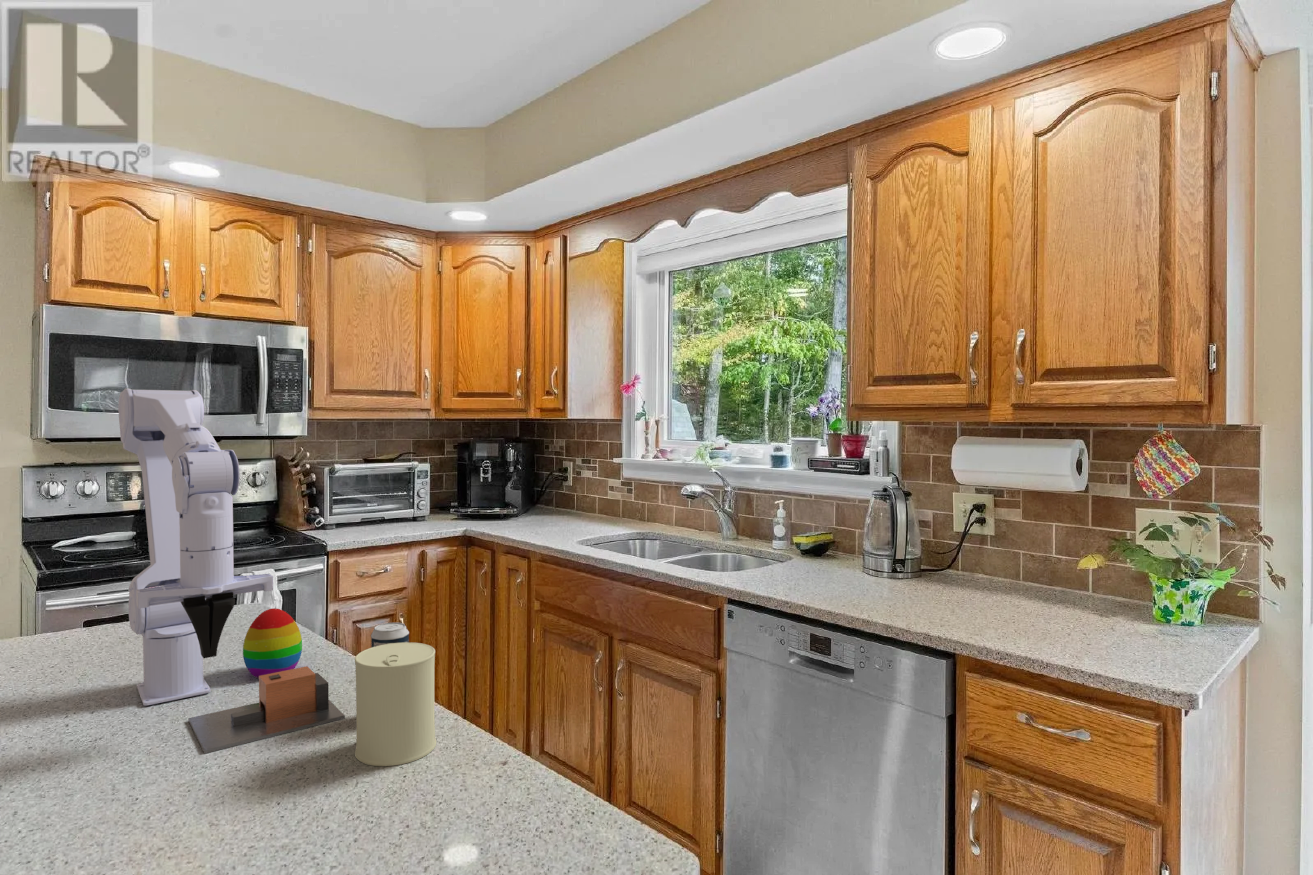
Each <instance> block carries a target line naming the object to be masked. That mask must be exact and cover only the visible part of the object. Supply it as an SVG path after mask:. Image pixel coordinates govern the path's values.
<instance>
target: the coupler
mask: <svg viewBox="0 0 1313 875" xmlns="http://www.w3.org/2000/svg"><path fill="white" fill-rule="evenodd" d="M314 673H315V674H316V711H314V712H310V713H305V714H301V715H297V716H293V717H289V718H285V719H280V720H276V721H272V722H268V723H266V722H265V706H263V707H259V702H254V703H250V704H247V705H246V704H245V705H241V706H237V707H233V708H228V709H224V710H220V711H219V710H218V711H215V712H211V713H207V714H201V715H196V716H192V717H189V718H187V719H188V723H189V725H190V727H191V730H192V731H193V733H194V735H195V738H196V739H197V742H198V744H199V746H200V747H201V750H202V752H203V754H210V753H213V752H216V751H221V750H225V749H228V748H233V747H236V746H240V745H244V744H247V743H248V744H249V743H251V742H257V741H260V740H264V739H268V738H273V737H275V736H280V735H284V734H288V733H292V732H295V731H299V730H304V729H308V728H312V727H316V726H319V725H324V724H328V723H331V722H336V721H340V720H344V719H345V716H346V715H345V714H344V713H343V712H342V711H341V710H340V709H339V708H338V707H337V706H336V705H335V704H333V702H332V701H331V700H330V698H329V697H330V696H329V682H328V680H326V679H325V678H324V677H323V676H322V675H321V674H320V673H319V672H314Z"/></svg>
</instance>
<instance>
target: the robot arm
mask: <svg viewBox="0 0 1313 875" xmlns="http://www.w3.org/2000/svg"><path fill="white" fill-rule="evenodd" d="M117 409H118V421H119V423H118V424H119V434H120V441H121V443H122V448H123V450H124V451H127V452H129V453H132V454H134V455H136V457H137V460H138V462H139V466H140V469H141V475H142V487H143V497H144V499H143V500H144V508H145V519H146V520H145V521H146V530H147V538H148V549H149V550H148V551H149V560H150V561H149V562H150V565H148V566H147V567H146V568H144V569H143V570H142V571H141V572H140V573H138V574H136V575H135V576H134V577H133V579H132V580H131V581H130V584H129V586H128V592H129V593H128V595H129V597H128V608H127V609H128V610H127V611H128V622H129V625H130V629H131V631H132V632H134V633H135V634H136V635H141V636H142V654H143V655H142V661H143V662H142V663H143V670H142V671H143V682H140V683H137V684H136V688H137V692H138V694H139V697H140V700H141V702H142V705H143V706H145V707H146V706H147V707H148V706H151V705H156V704H160V703H166V702H171V701H176V700H180V699H185V698H191V697H195V696H199V695H200V696H201V695H206V694H209V693H210V692H212V691H211V690H212V689H211V687H210V686H209V684H208V683H207V681H206V679H205V678H204V659H208V658H214V657H217V653H218V647H219V643H220V639H221V636H222V633H223V630H224V627H225V624H226V623H227V621H228V619H229V616H230V614H231V612H232V611H233V609H234V607H235V604H236V599H235V597H234V596H235V595H239V594H247V593H256V592H271V591H274V575H272V574H271V573H262V574H249V575H247V574H246V575H234V573H235V572H234V571H235V570H234V507H233V506H234V505H233V504H234V503H233V502H234V501H233V500H234V498H233V496H235V495H236V494H237V493H238V491H239V487H240V465H239V464H240V463H239V460H238V456H237V455H236V453H235V451H234V450H233V449H221V448H220V445H219V444H218V443H217V441H216V440H215V438H214V436H213V435H212V433H211V432H210V431H209V429H208V428H206V427H205V426H203V423H204V420H205V417H204V416H205V404H204V398H203V396H202V394H201V393H200V392H199V391H198V390H196V389H191V390H175V389H174V390H173V389H172V390H169V389H131V388H128V387H127V388H124V389H123V390H121V392H120V393H119V397H118V408H117Z"/></svg>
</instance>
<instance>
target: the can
mask: <svg viewBox="0 0 1313 875" xmlns="http://www.w3.org/2000/svg"><path fill="white" fill-rule="evenodd" d="M435 657H436V649H435V648H434V647H433V646H432V645H429V644H425V643H421V642H410V641H409V642H404V643H391V644H385V645H380V646H376V647H372V648H371V647H369V648H367V649H366V648H365V649H364V650H362V651H360V652H359V653H358V654H356V656H355V657H354V664H355V665H354V667H355V696H356V697H355V704H356V706H355V708H356V714H355V716H356V738H355V739H356V741H355V742H356V743H355V744H356V745H355V751H354V756H355V758H356V759H357V760H358V761H359V762H360V763H363V765H364V764H365V765H368V766H374V767H375V766H376V767H392V766H393V767H394V766H400V765H406V764H408V763H409V764H410V763H412V762H415V761H417V760H420V759H423V758H424V757H426V756H427V755H429V754H430V753H432V752H433V750H434V749H435V748H436V746H437V739H436V727H435V726H436V725H435V724H436V722H435V661H436V660H435V659H436V658H435Z"/></svg>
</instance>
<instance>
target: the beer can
mask: <svg viewBox="0 0 1313 875" xmlns="http://www.w3.org/2000/svg"><path fill="white" fill-rule="evenodd" d="M370 640H371V641H370V643H371V644H370V645H371V646H370V648H372V647H376V646H380V645H385V644H391V643H404V642H410V631H409V630H408V628H407V626H406V625H405V623H402V622H385V623H380V624H378V625H376V626H374V628H373V631H372V632H371V635H370Z"/></svg>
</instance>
